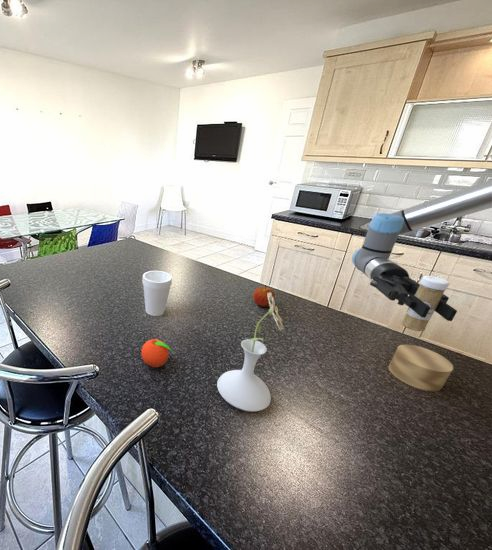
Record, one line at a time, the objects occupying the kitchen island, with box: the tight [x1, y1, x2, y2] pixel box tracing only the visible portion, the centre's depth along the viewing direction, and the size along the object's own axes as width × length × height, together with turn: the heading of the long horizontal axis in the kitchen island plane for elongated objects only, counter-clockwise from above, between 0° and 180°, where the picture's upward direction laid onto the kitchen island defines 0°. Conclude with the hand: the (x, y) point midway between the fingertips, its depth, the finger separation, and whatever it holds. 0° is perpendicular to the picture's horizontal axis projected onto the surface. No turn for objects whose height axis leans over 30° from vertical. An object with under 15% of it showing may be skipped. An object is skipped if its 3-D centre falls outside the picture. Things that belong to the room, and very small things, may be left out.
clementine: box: [140, 338, 174, 368], centre depth 74 cm, size 8×7×7 cm
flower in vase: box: [216, 292, 285, 413], centre depth 62 cm, size 13×11×25 cm
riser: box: [388, 344, 454, 392], centre depth 72 cm, size 10×10×6 cm
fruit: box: [252, 284, 276, 308], centre depth 103 cm, size 7×7×8 cm
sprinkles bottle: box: [401, 275, 450, 332], centre depth 72 cm, size 5×5×13 cm
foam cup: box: [142, 270, 173, 317], centre depth 97 cm, size 10×9×13 cm
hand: (438, 313), depth 67 cm, fingers closed on sprinkles bottle, 4 cm apart
